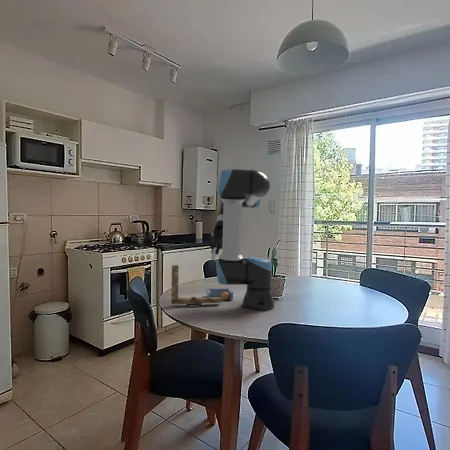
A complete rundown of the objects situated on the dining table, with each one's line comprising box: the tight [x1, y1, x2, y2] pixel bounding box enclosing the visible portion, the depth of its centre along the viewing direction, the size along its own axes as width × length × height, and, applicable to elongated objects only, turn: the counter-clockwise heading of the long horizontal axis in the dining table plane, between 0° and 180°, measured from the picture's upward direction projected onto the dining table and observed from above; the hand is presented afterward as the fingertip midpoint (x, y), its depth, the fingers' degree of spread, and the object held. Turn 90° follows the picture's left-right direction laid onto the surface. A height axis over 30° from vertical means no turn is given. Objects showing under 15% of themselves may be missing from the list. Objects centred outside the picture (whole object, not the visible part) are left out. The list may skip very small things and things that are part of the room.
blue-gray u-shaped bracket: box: [205, 287, 234, 301], centre depth 177 cm, size 10×12×4 cm
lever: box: [170, 264, 222, 305], centre depth 163 cm, size 24×3×18 cm, turn 101°
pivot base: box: [185, 303, 202, 308], centre depth 163 cm, size 7×7×1 cm
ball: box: [220, 292, 229, 301], centre depth 175 cm, size 4×4×4 cm
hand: (213, 259), depth 184 cm, fingers closed
